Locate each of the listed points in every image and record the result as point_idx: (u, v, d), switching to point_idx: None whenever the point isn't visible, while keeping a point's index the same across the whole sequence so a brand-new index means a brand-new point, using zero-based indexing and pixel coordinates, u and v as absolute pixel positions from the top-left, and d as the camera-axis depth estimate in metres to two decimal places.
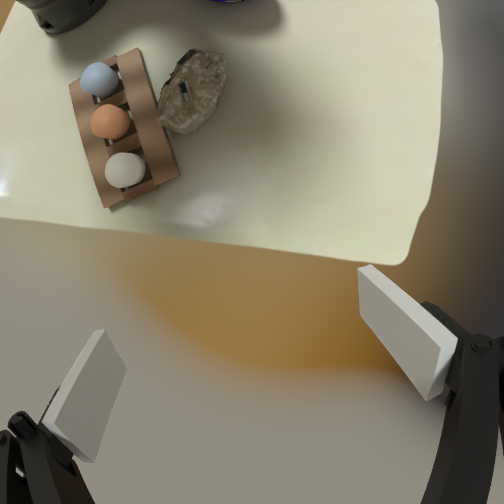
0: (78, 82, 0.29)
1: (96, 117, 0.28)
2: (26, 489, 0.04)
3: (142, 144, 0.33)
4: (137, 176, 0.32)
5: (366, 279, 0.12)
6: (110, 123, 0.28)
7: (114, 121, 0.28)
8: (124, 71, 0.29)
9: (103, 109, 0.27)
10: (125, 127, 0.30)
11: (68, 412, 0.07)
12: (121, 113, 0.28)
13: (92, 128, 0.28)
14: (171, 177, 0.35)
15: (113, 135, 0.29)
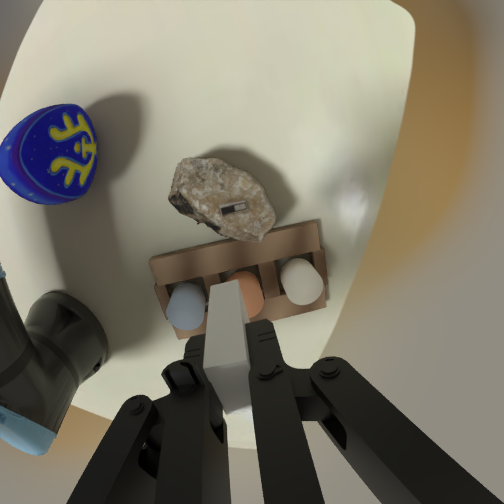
0: None
1: None
2: (143, 474, 0.06)
3: (273, 259, 0.34)
4: (313, 269, 0.32)
5: (224, 293, 0.14)
6: (249, 296, 0.31)
7: (247, 292, 0.31)
8: (178, 276, 0.34)
9: None
10: (252, 278, 0.33)
11: None
12: (239, 282, 0.31)
13: (249, 316, 0.32)
14: (316, 231, 0.33)
15: None
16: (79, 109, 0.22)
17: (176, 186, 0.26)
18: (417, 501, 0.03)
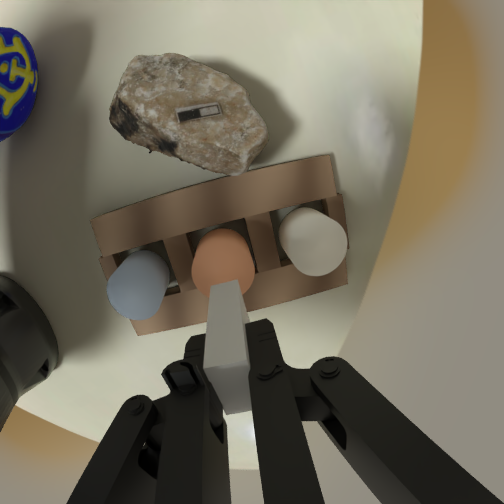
0: (136, 320, 0.24)
1: None
2: (143, 474, 0.06)
3: (267, 209, 0.22)
4: None
5: (224, 293, 0.14)
6: (231, 262, 0.19)
7: (227, 254, 0.19)
8: (129, 240, 0.22)
9: (200, 275, 0.19)
10: (236, 236, 0.21)
11: None
12: (214, 240, 0.19)
13: None
14: (329, 167, 0.22)
15: (251, 257, 0.20)
16: (18, 33, 0.10)
17: None
18: (417, 501, 0.03)
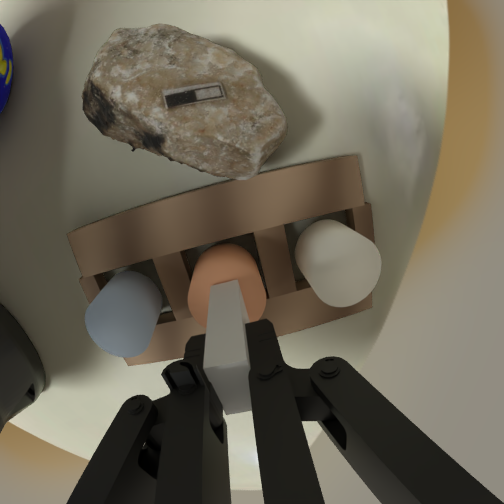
0: None
1: None
2: (143, 474, 0.06)
3: (282, 221, 0.18)
4: None
5: (224, 293, 0.14)
6: None
7: None
8: (112, 259, 0.18)
9: (199, 304, 0.15)
10: (242, 254, 0.17)
11: None
12: (215, 262, 0.15)
13: None
14: (357, 170, 0.17)
15: None
16: None
17: (88, 74, 0.10)
18: (417, 501, 0.03)
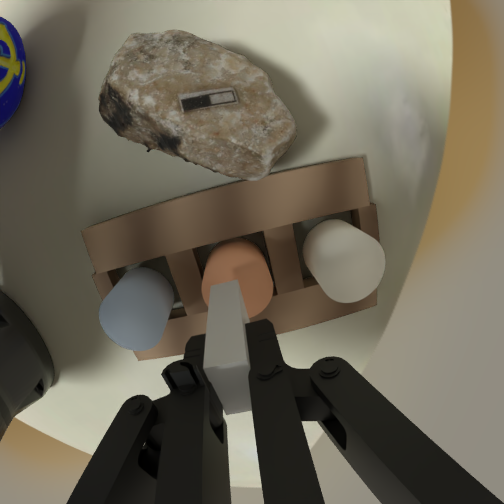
0: None
1: None
2: (143, 474, 0.06)
3: (290, 221, 0.19)
4: None
5: (224, 293, 0.14)
6: (246, 277, 0.17)
7: (243, 269, 0.17)
8: (126, 255, 0.19)
9: None
10: (252, 248, 0.19)
11: None
12: (227, 253, 0.17)
13: None
14: (362, 172, 0.18)
15: None
16: (3, 20, 0.07)
17: (105, 77, 0.11)
18: (417, 501, 0.03)
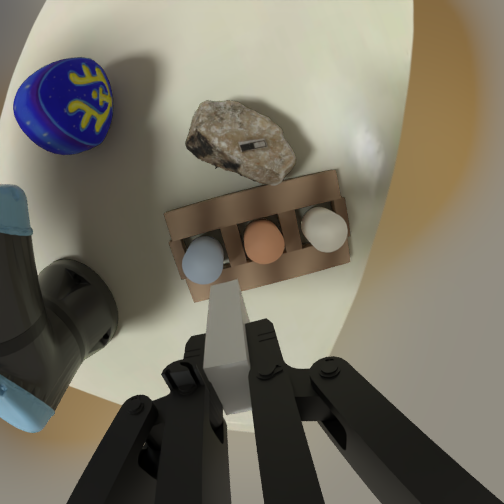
0: (194, 289, 0.35)
1: (257, 256, 0.31)
2: (144, 474, 0.06)
3: (293, 208, 0.32)
4: (336, 214, 0.30)
5: (224, 293, 0.14)
6: (270, 238, 0.30)
7: (268, 233, 0.30)
8: (194, 229, 0.32)
9: (250, 247, 0.31)
10: (271, 223, 0.32)
11: None
12: (259, 225, 0.31)
13: (269, 261, 0.31)
14: (335, 178, 0.31)
15: None
16: (96, 64, 0.21)
17: (194, 126, 0.24)
18: (417, 501, 0.03)
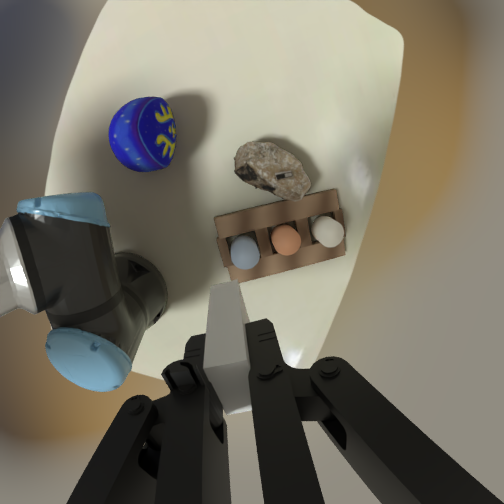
0: (233, 274, 0.48)
1: (282, 249, 0.44)
2: (143, 474, 0.06)
3: (306, 216, 0.46)
4: None
5: (224, 293, 0.14)
6: (291, 237, 0.44)
7: (290, 234, 0.44)
8: (236, 230, 0.46)
9: (277, 243, 0.44)
10: (291, 227, 0.46)
11: None
12: (283, 228, 0.44)
13: (290, 253, 0.45)
14: (336, 196, 0.45)
15: None
16: None
17: (244, 160, 0.38)
18: (417, 501, 0.03)
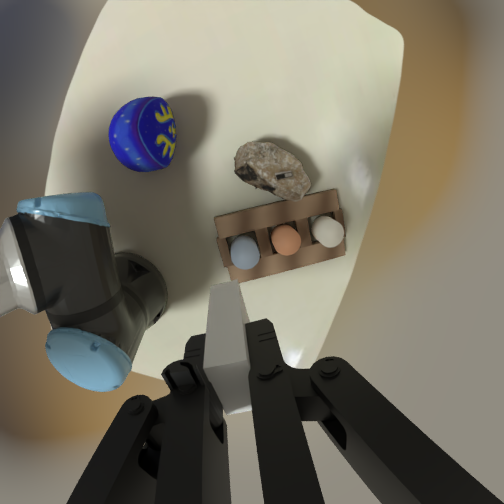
0: (233, 274, 0.48)
1: (282, 249, 0.44)
2: (143, 474, 0.06)
3: (306, 216, 0.46)
4: None
5: (224, 293, 0.14)
6: (291, 237, 0.44)
7: (290, 234, 0.44)
8: (236, 230, 0.46)
9: (277, 243, 0.44)
10: (291, 227, 0.46)
11: None
12: (283, 228, 0.44)
13: (290, 253, 0.45)
14: (336, 196, 0.45)
15: None
16: (166, 102, 0.34)
17: (244, 160, 0.38)
18: (417, 501, 0.03)
